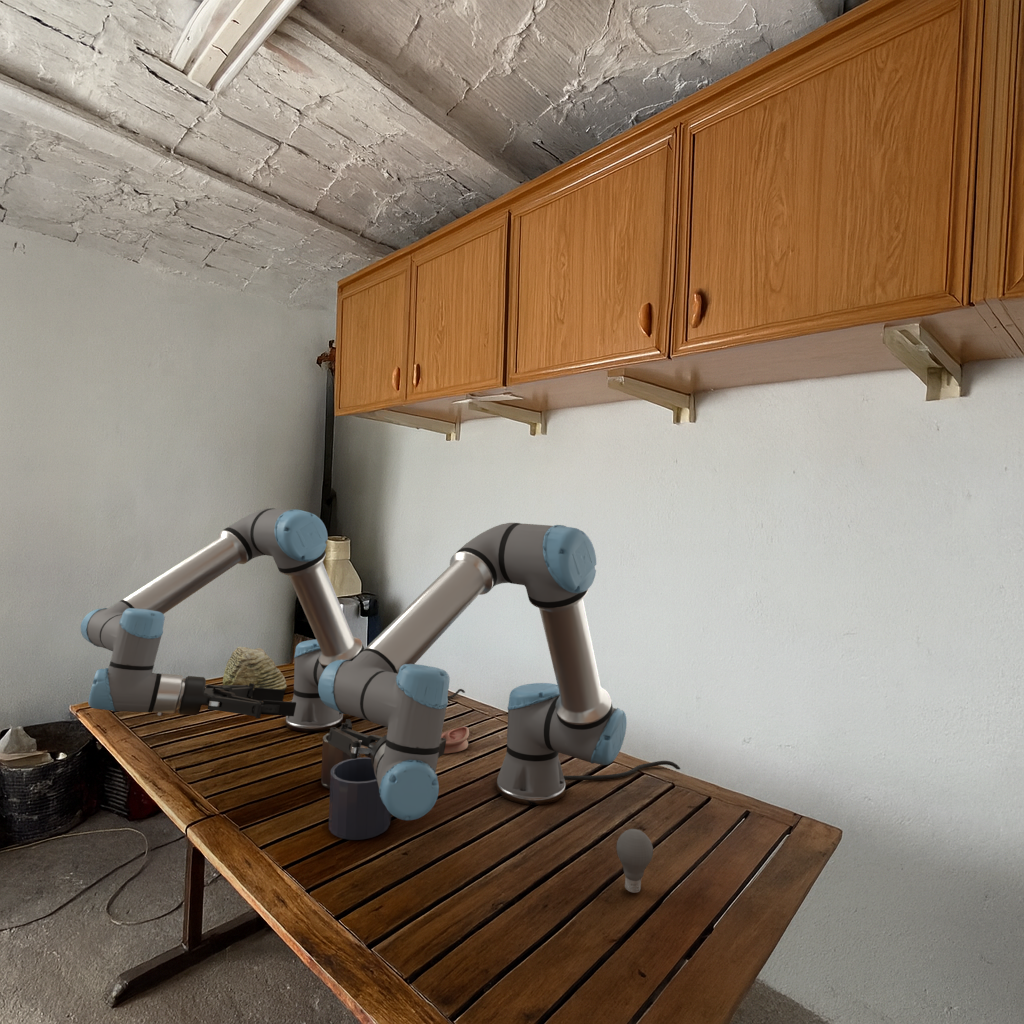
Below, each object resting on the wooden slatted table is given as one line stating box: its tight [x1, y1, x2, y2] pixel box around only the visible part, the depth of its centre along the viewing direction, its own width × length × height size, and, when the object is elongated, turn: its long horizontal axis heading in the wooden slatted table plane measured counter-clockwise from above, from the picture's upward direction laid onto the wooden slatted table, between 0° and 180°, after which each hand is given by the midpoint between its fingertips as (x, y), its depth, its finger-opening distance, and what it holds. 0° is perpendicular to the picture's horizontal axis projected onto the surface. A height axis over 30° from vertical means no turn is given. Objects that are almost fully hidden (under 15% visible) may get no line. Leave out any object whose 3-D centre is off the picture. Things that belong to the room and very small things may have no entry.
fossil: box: [222, 646, 288, 691], centre depth 198 cm, size 9×18×15 cm, turn 132°
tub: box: [328, 756, 392, 841], centre depth 123 cm, size 12×12×11 cm
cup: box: [320, 732, 362, 790], centre depth 141 cm, size 8×8×10 cm
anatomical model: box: [441, 726, 470, 754], centre depth 164 cm, size 13×4×12 cm
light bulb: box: [615, 828, 654, 894], centre depth 106 cm, size 6×6×10 cm
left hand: (289, 702), depth 137 cm, fingers open, 13 cm apart
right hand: (384, 730), depth 117 cm, fingers open, 13 cm apart
